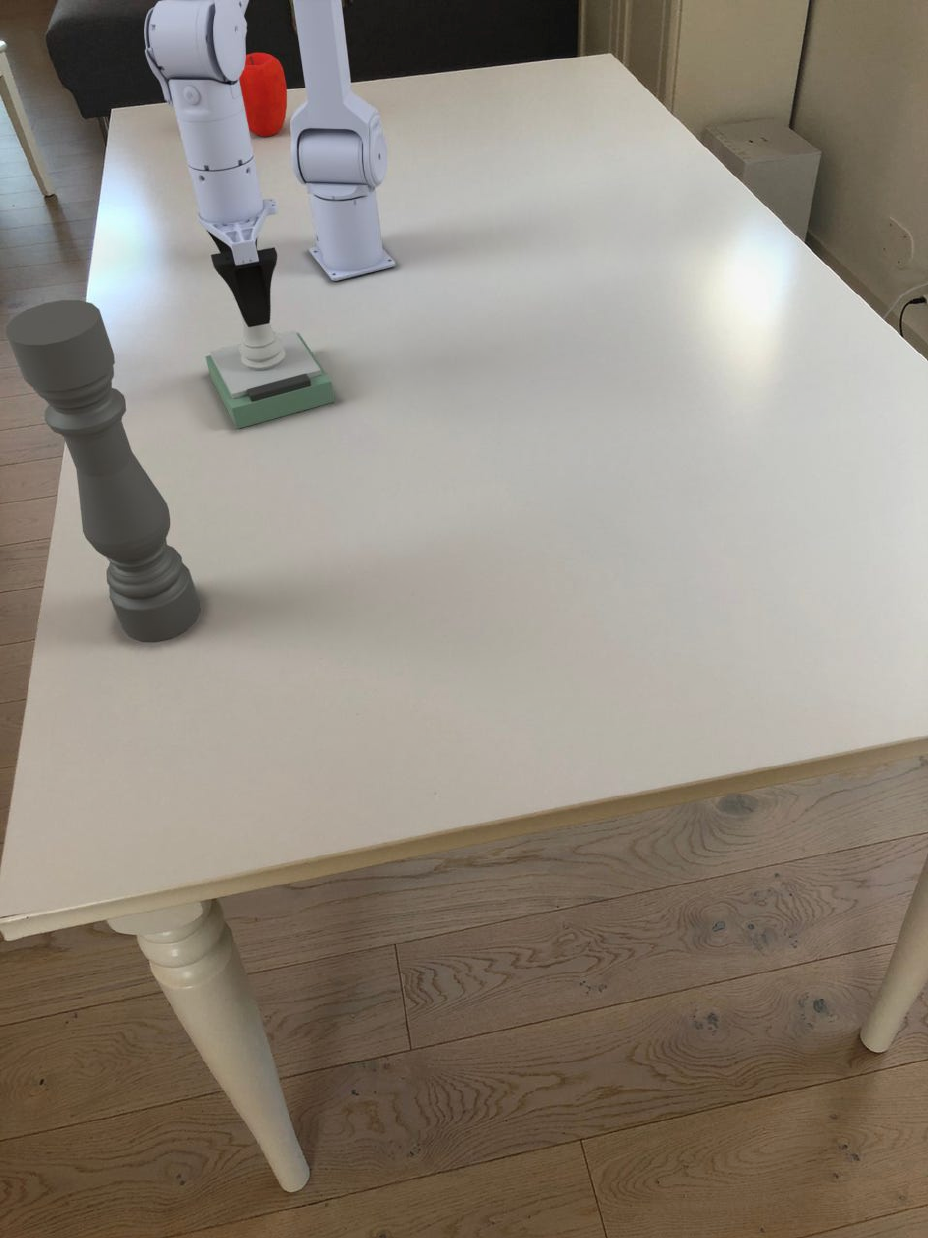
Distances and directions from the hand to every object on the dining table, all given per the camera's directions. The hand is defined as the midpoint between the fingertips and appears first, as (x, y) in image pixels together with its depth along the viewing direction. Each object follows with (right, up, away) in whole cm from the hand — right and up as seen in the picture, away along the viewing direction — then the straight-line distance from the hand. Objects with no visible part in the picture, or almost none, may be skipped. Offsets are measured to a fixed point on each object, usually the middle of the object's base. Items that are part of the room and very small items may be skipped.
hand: (252, 305), depth 97 cm
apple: (-10, +45, +60) cm, 76 cm away
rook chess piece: (0, -4, +4) cm, 6 cm away
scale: (+1, -7, +6) cm, 9 cm away
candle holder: (-4, -30, -17) cm, 34 cm away
